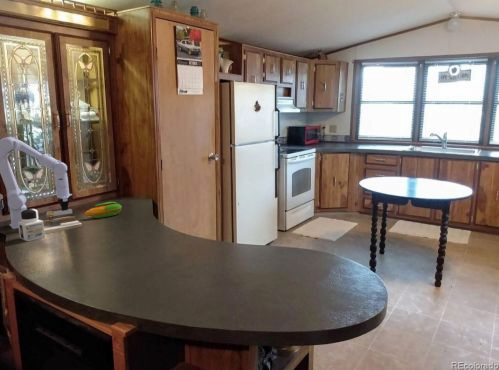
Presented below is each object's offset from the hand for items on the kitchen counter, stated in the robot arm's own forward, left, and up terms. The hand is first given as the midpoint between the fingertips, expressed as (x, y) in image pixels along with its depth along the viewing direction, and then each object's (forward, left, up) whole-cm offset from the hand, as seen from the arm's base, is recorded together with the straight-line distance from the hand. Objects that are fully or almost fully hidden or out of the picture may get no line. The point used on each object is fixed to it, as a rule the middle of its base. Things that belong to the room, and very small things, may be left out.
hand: (65, 212), depth 198 cm
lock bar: (+1, -3, -1) cm, 3 cm away
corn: (+3, +19, -5) cm, 20 cm away
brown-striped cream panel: (+5, -5, -5) cm, 9 cm away
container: (+17, -19, -5) cm, 26 cm away
